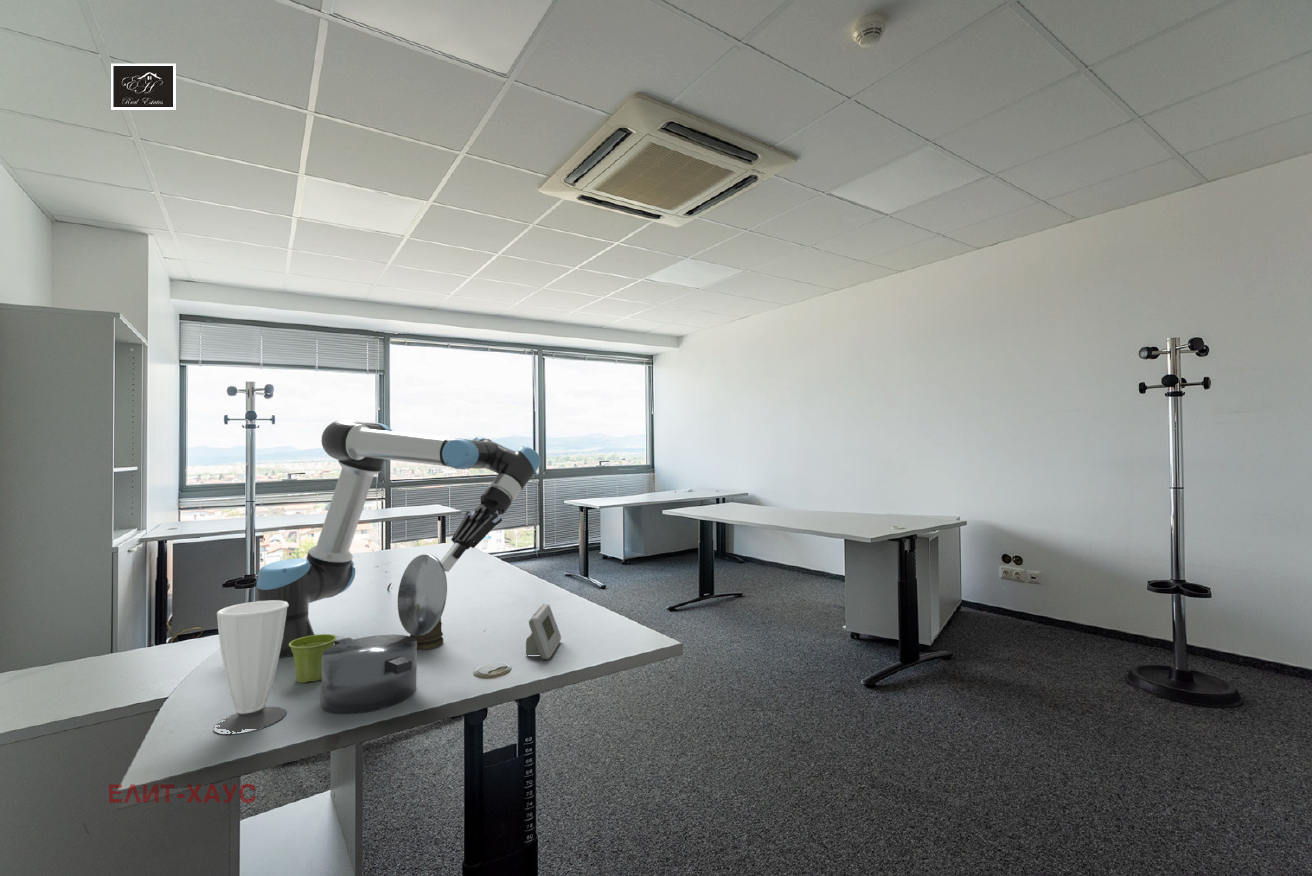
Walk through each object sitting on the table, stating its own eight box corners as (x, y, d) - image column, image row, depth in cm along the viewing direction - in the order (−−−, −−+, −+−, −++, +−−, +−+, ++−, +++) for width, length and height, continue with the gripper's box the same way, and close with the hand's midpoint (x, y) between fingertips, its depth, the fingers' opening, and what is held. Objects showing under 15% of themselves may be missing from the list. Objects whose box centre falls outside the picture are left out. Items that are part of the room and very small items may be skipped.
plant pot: (345, 673, 130) (345, 636, 131) (308, 688, 121) (309, 648, 122) (315, 669, 133) (316, 632, 134) (278, 683, 124) (278, 644, 125)
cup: (263, 733, 101) (266, 613, 102) (196, 736, 100) (200, 615, 101) (299, 706, 112) (301, 599, 113) (239, 709, 111) (242, 600, 112)
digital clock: (548, 662, 136) (547, 619, 136) (514, 660, 138) (514, 617, 138) (571, 642, 152) (571, 603, 152) (541, 640, 154) (541, 601, 154)
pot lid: (405, 551, 134) (413, 552, 136) (391, 628, 131) (400, 628, 132) (448, 558, 123) (456, 558, 125) (434, 642, 120) (443, 641, 122)
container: (433, 650, 146) (434, 581, 147) (401, 650, 147) (402, 581, 148) (449, 640, 155) (449, 575, 156) (418, 639, 156) (419, 575, 157)
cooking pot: (296, 694, 118) (297, 647, 119) (380, 669, 133) (381, 627, 133) (357, 728, 102) (358, 673, 103) (444, 695, 117) (445, 647, 117)
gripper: (524, 505, 144) (469, 580, 130) (493, 503, 152) (437, 574, 138) (508, 485, 140) (449, 561, 126) (476, 485, 148) (418, 556, 134)
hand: (443, 568), depth 132 cm, fingers closed
